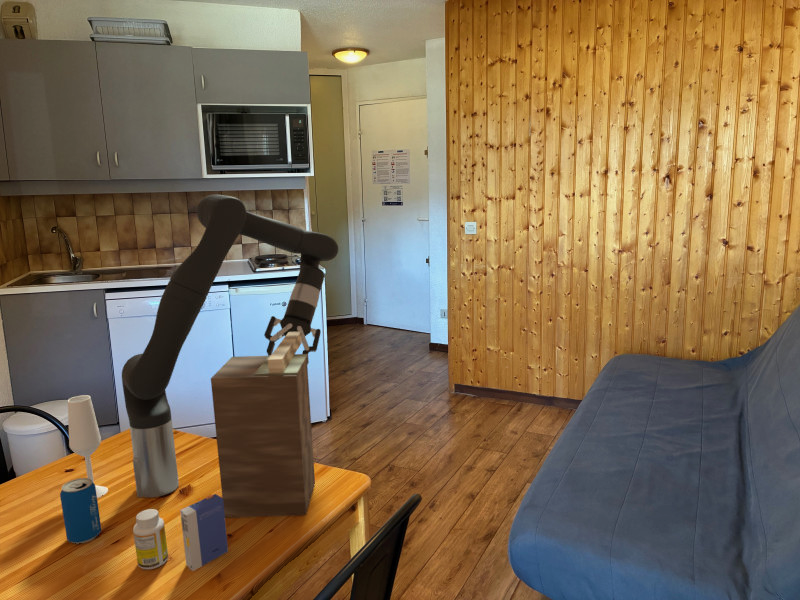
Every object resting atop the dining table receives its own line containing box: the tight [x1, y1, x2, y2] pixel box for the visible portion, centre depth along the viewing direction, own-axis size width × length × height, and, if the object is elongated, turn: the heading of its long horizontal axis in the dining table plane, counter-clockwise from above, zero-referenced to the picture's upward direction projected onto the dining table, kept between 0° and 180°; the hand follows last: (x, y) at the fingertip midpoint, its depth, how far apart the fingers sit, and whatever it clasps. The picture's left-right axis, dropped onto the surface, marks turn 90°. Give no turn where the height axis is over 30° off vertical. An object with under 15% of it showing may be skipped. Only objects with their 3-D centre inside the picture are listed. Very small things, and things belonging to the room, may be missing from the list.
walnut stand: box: [210, 353, 316, 519], centre depth 135 cm, size 16×18×32 cm
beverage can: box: [59, 477, 102, 545], centre depth 124 cm, size 6×6×12 cm
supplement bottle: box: [132, 508, 169, 570], centre depth 115 cm, size 6×6×10 cm
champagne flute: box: [67, 394, 109, 499], centre depth 141 cm, size 7×7×24 cm
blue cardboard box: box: [179, 493, 229, 572], centre depth 115 cm, size 8×3×12 cm, turn 139°
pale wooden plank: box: [268, 331, 302, 373], centre depth 137 cm, size 24×3×3 cm, turn 0°
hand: (285, 360), depth 157 cm, fingers open, 8 cm apart
